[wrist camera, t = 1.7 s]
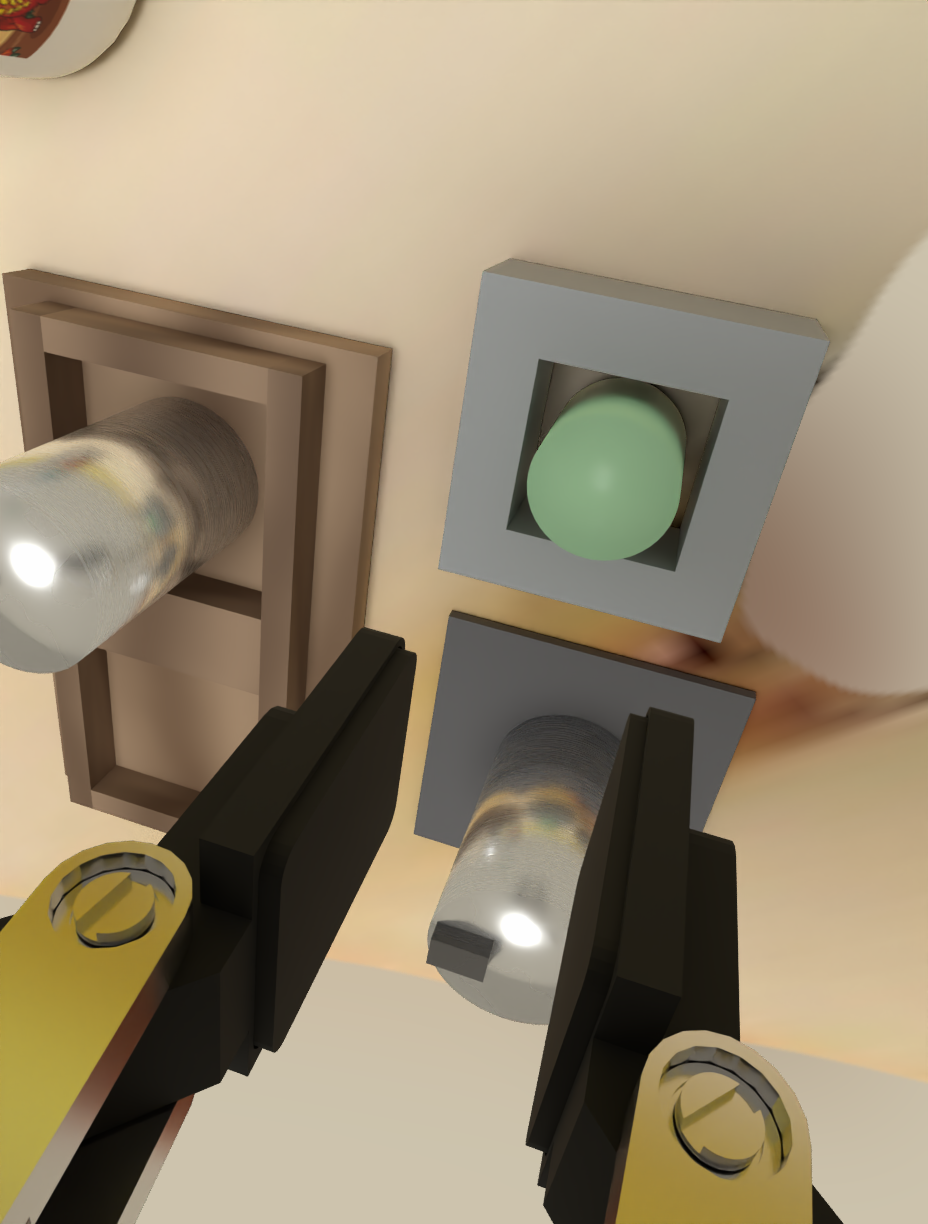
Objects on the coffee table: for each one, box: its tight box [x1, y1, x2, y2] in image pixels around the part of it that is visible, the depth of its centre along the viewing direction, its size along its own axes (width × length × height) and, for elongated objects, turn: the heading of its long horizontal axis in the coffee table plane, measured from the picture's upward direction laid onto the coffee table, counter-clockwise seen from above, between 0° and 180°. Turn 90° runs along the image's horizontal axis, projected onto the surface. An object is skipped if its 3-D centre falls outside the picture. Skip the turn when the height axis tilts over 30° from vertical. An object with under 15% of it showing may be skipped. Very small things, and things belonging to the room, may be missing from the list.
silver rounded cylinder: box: [426, 715, 620, 1025], centre depth 26 cm, size 5×5×9 cm
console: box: [438, 259, 830, 643], centre depth 22 cm, size 8×8×3 cm
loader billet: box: [0, 397, 258, 673], centre depth 23 cm, size 5×5×9 cm
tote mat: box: [414, 611, 756, 848], centre depth 29 cm, size 10×10×1 cm
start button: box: [527, 378, 686, 561], centre depth 21 cm, size 4×4×4 cm
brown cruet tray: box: [2, 269, 392, 833], centre depth 29 cm, size 12×20×3 cm, turn 171°
